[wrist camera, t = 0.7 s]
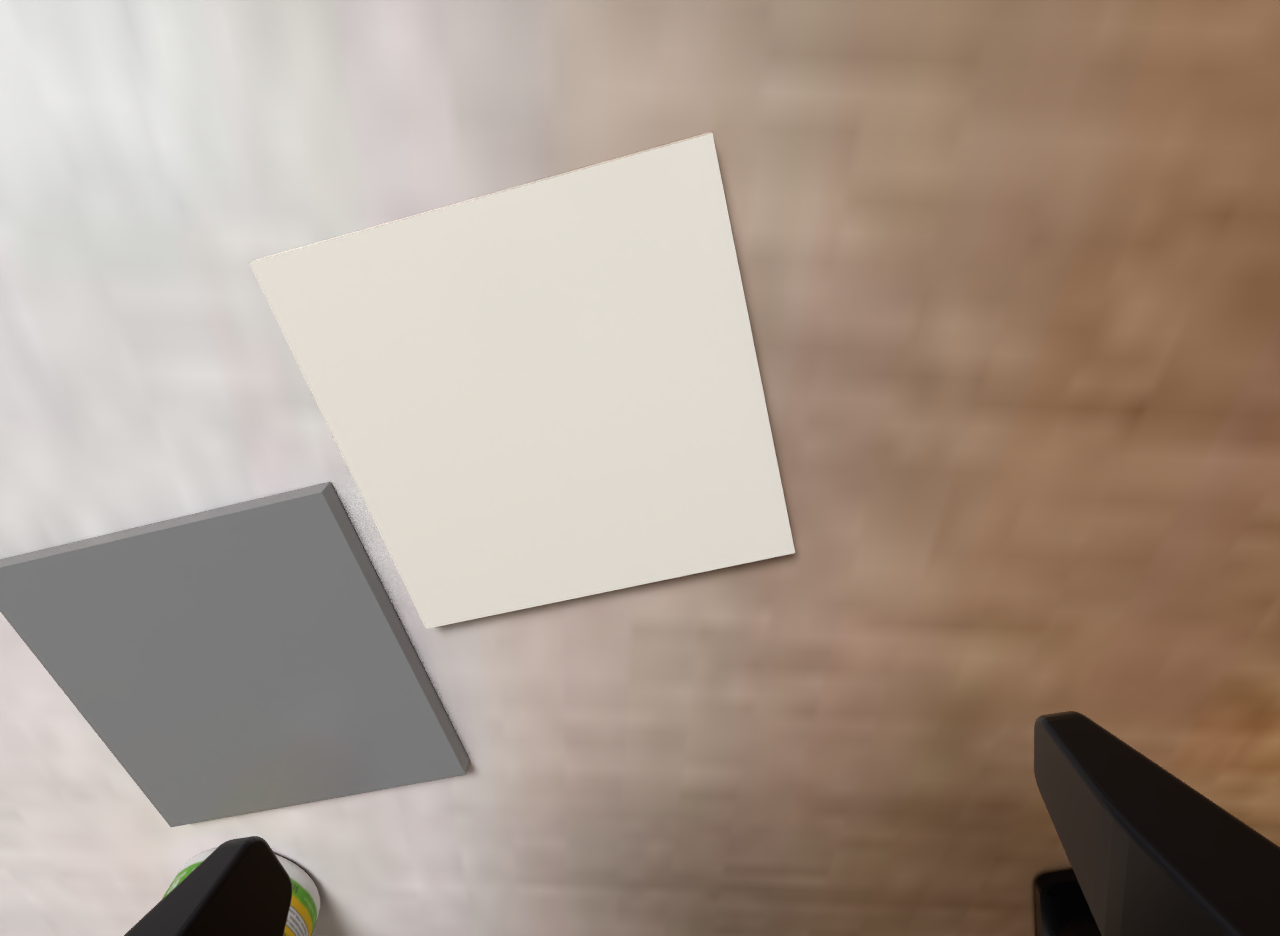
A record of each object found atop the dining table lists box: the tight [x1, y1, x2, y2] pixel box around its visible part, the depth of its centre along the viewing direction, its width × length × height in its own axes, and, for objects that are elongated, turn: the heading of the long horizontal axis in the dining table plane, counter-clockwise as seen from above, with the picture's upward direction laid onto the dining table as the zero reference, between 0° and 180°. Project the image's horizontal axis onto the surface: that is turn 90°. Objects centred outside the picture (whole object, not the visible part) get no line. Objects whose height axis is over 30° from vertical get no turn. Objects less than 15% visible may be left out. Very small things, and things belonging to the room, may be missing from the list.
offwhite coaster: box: [249, 132, 795, 629], centre depth 19 cm, size 11×11×1 cm
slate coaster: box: [0, 482, 469, 827], centre depth 23 cm, size 11×11×1 cm
